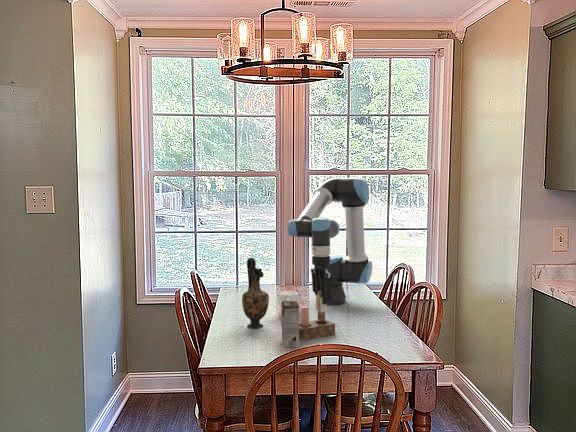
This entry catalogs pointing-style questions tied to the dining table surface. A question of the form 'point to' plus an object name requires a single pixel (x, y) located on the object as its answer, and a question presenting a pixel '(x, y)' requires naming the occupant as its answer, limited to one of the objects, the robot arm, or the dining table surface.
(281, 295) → the mug
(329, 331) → the hole block
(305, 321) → the terracotta peg
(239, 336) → the dining table surface
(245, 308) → the vase
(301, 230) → the robot arm
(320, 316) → the oak peg
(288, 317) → the coffee box
